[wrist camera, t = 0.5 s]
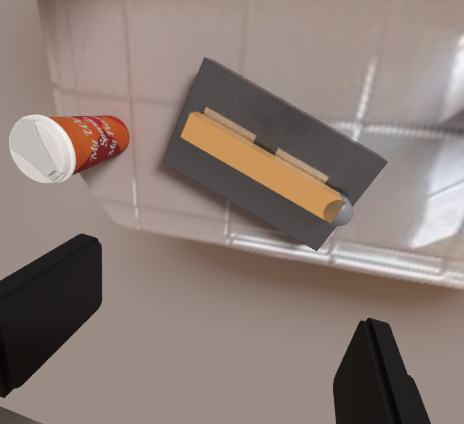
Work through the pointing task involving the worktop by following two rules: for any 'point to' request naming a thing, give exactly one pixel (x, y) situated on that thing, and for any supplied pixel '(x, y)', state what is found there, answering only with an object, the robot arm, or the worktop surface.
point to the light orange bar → (267, 169)
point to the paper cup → (64, 144)
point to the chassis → (270, 151)
